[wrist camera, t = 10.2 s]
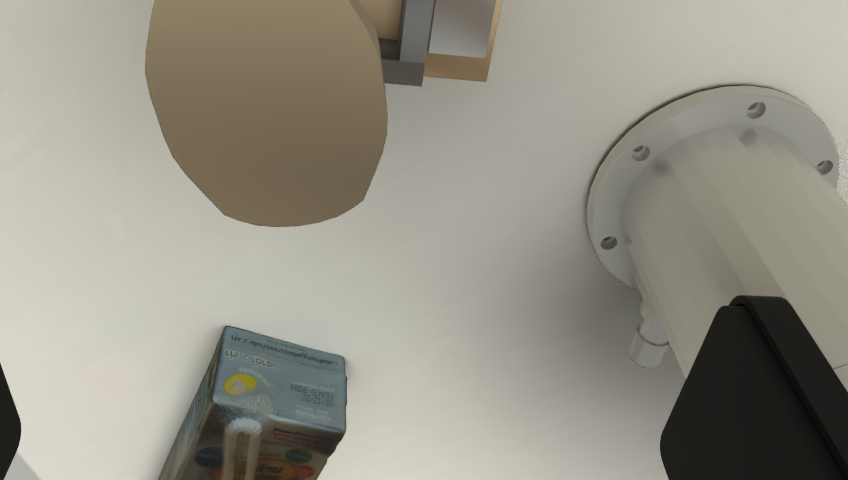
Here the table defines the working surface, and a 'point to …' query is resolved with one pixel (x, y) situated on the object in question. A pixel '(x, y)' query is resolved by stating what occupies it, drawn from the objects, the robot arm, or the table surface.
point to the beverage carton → (262, 413)
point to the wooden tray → (434, 38)
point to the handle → (270, 103)
